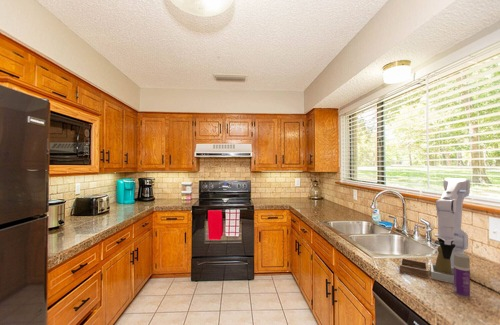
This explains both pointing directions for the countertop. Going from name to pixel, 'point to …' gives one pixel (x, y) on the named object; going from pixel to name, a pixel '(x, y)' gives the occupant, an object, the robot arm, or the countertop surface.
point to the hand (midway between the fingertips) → (446, 256)
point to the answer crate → (441, 275)
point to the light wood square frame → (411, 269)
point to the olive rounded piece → (442, 263)
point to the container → (461, 275)
